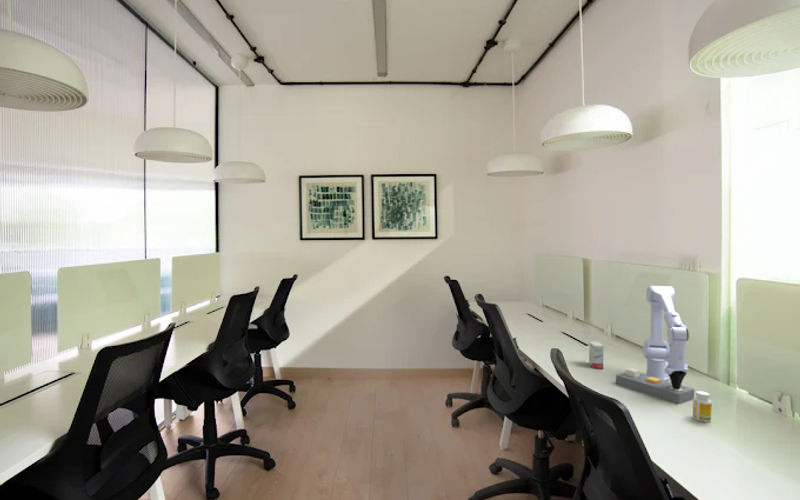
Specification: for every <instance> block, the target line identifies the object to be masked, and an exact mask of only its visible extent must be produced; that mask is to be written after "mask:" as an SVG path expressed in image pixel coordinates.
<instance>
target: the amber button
mask: <svg viewBox="0 0 800 500" xmlns="http://www.w3.org/2000/svg"><path fill="white" fill-rule="evenodd" d="M646 381H647V382H651V383H654V384H658V383H661V379H657V378H654V377H649V378H646Z"/></svg>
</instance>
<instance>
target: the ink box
mask: <svg viewBox="0 0 800 500" xmlns="http://www.w3.org/2000/svg"><path fill="white" fill-rule="evenodd" d="M588 343H589V344H588V345H589V351H588V364H589V365H590V366H591V367H592V368H593V369H595V370H596V369H598V370H604V345H603V344H602V343H600V342H598V341H589V342H588Z"/></svg>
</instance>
